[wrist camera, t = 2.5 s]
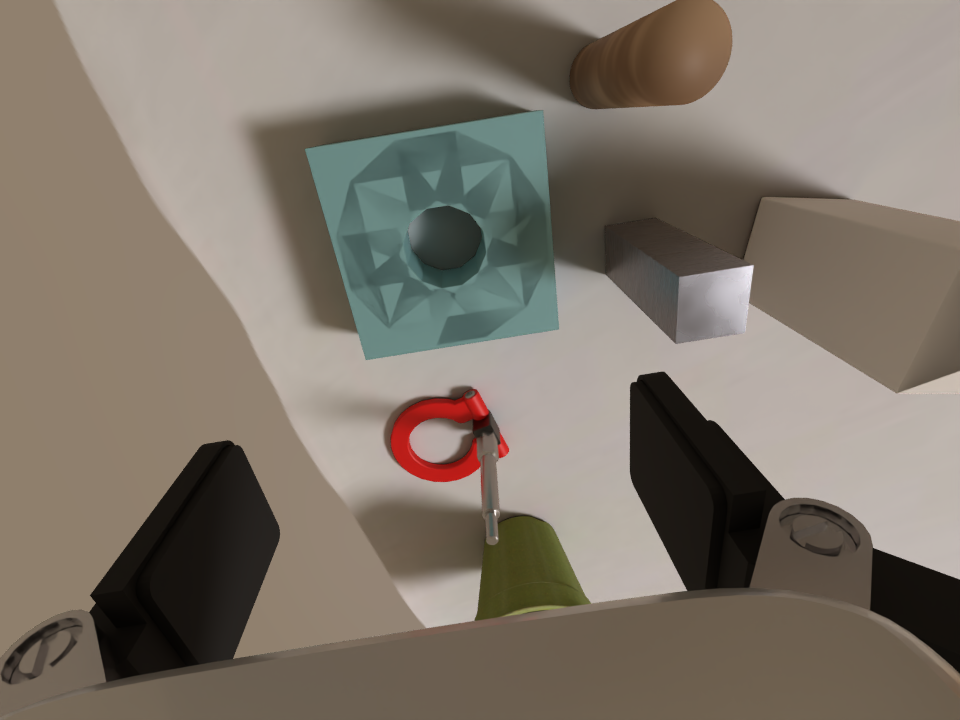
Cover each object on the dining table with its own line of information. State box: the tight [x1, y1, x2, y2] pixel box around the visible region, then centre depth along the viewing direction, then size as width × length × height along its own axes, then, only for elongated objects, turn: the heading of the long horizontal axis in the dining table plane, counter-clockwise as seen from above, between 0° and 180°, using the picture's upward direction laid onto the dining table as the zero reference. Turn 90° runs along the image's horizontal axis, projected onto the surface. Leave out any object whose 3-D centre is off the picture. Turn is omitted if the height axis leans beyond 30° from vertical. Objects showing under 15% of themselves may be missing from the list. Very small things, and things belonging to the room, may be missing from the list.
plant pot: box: [475, 516, 591, 621], centre depth 42 cm, size 12×12×11 cm
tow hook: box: [391, 389, 509, 545], centre depth 35 cm, size 8×13×9 cm
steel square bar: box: [605, 218, 754, 344], centre depth 29 cm, size 4×4×12 cm
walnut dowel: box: [570, 0, 732, 109], centre depth 24 cm, size 4×4×12 cm
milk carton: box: [743, 197, 960, 394], centre depth 27 cm, size 7×7×19 cm
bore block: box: [305, 110, 559, 360], centre depth 31 cm, size 13×13×4 cm
